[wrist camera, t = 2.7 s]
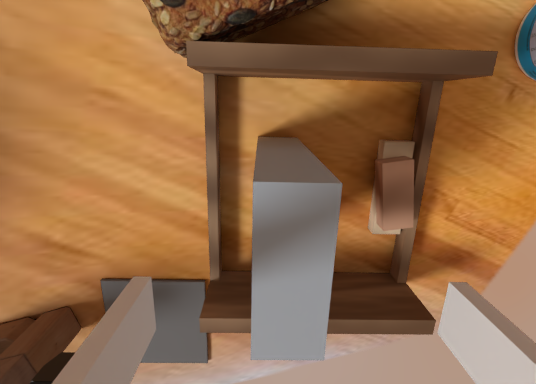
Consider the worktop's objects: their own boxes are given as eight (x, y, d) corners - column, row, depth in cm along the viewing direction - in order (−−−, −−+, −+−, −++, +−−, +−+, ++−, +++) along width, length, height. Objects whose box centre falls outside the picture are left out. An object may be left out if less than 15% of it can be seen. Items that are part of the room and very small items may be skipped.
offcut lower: (377, 138, 31) (385, 141, 29) (405, 139, 31) (414, 141, 29) (366, 226, 34) (372, 233, 32) (392, 226, 34) (399, 234, 32)
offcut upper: (374, 159, 30) (382, 163, 28) (404, 155, 30) (414, 159, 28) (376, 223, 32) (383, 231, 30) (404, 219, 32) (413, 227, 30)
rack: (206, 57, 28) (186, 40, 20) (434, 65, 29) (497, 51, 21) (213, 282, 35) (200, 332, 28) (396, 284, 36) (432, 334, 28)
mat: (102, 278, 35) (100, 280, 34) (204, 280, 35) (204, 282, 35) (114, 359, 38) (113, 362, 38) (208, 360, 39) (207, 362, 38)
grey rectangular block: (258, 136, 30) (253, 181, 13) (297, 137, 30) (342, 183, 13) (256, 226, 33) (250, 359, 16) (291, 227, 33) (324, 360, 16)
